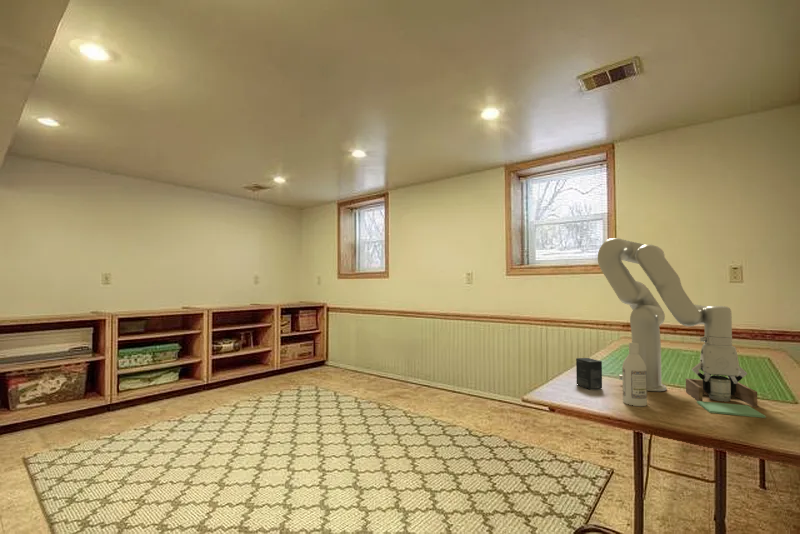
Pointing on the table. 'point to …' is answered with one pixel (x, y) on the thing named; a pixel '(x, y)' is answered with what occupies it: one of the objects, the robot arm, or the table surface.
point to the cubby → (742, 392)
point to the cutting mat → (730, 409)
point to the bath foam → (634, 378)
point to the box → (589, 373)
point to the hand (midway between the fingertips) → (719, 392)
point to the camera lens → (720, 388)
